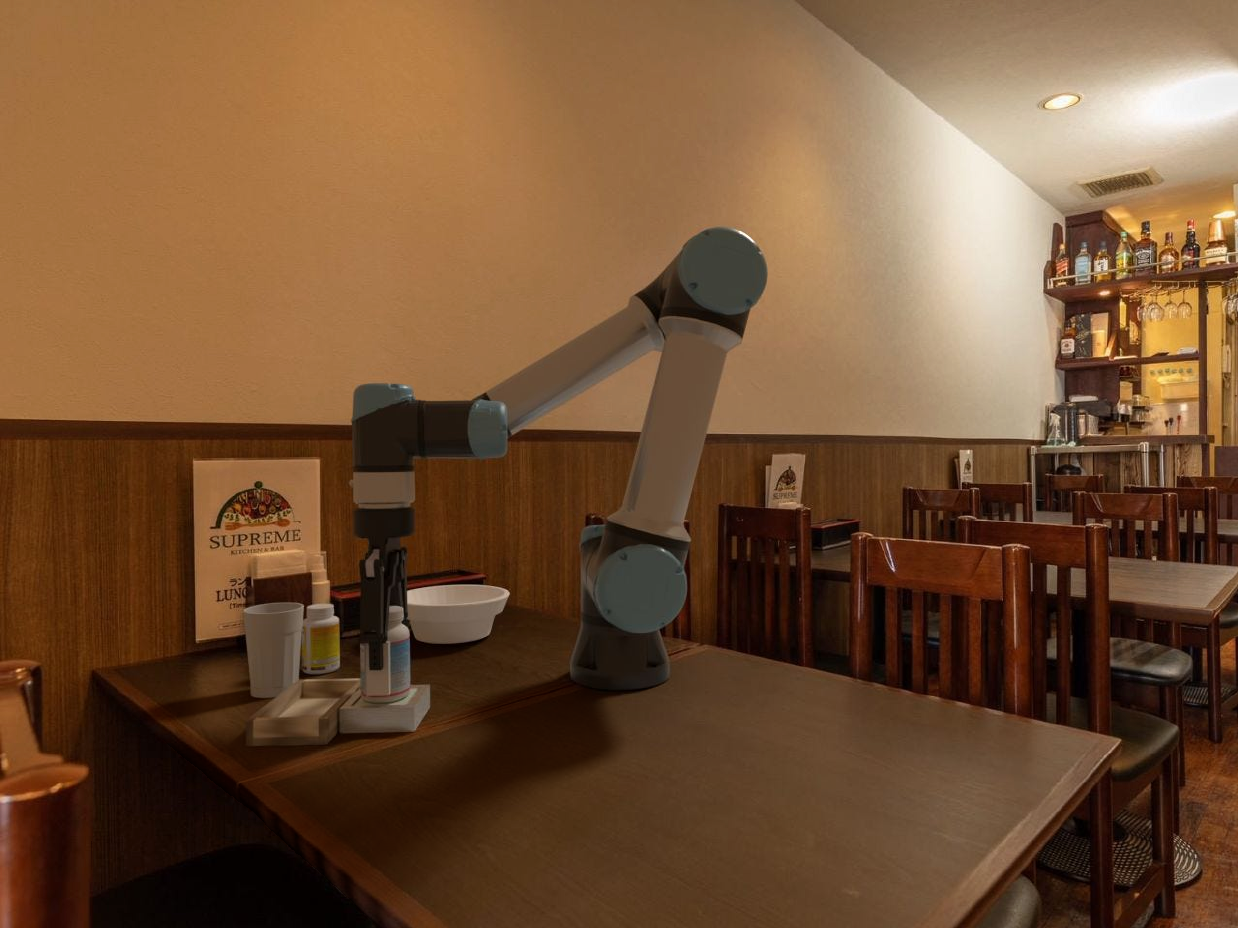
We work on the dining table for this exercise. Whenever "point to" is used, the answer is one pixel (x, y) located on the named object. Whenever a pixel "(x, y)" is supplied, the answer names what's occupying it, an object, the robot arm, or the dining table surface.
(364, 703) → the pad
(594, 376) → the robot arm
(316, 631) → the supplement bottle
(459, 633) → the bowl
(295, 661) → the cup
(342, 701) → the trough
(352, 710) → the white note holder
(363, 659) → the pill bottle
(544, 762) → the dining table surface
